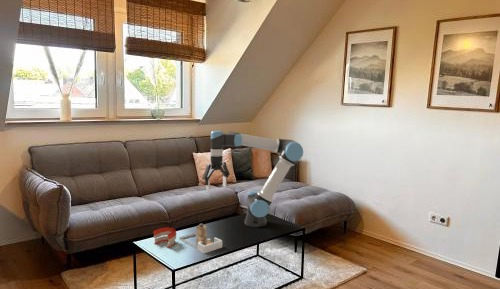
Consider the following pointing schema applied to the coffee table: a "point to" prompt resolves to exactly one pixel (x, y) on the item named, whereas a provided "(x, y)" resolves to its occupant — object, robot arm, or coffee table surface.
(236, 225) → the coffee table surface
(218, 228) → the coffee table surface
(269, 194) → the robot arm
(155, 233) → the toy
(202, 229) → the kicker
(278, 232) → the coffee table surface
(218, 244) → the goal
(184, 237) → the rails
